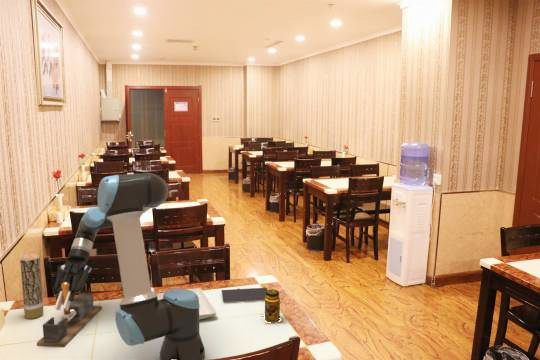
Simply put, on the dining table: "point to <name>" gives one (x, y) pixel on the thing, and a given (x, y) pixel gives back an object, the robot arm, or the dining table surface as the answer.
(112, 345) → the dining table surface
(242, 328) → the dining table surface
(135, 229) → the robot arm
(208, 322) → the dining table surface
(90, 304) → the stand
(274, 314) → the condiment
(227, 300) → the notebook
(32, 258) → the grey patterned cylinder
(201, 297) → the square plate
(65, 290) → the wooden handle lever
